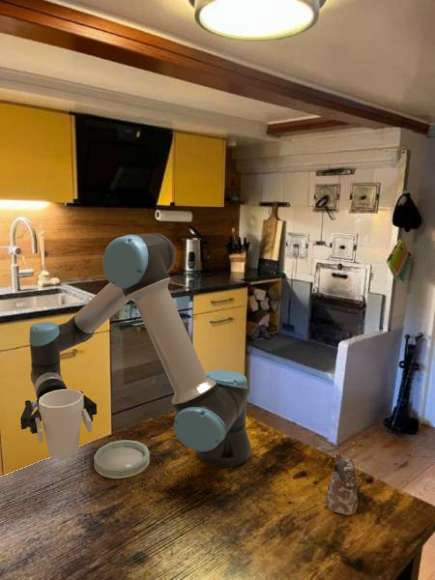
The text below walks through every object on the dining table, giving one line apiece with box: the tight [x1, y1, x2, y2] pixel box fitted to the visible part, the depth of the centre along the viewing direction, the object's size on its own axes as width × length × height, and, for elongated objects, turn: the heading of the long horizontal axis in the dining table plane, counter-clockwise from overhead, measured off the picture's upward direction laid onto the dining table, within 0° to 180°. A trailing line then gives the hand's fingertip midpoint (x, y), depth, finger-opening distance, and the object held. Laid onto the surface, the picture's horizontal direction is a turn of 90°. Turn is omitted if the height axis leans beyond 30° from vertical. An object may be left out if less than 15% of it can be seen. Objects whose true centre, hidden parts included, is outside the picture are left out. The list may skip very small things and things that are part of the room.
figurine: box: [325, 452, 359, 516], centre depth 100 cm, size 7×7×12 cm
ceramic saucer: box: [93, 439, 151, 480], centre depth 114 cm, size 14×14×2 cm
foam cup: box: [39, 388, 84, 460], centre depth 98 cm, size 10×9×13 cm
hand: (65, 431), depth 94 cm, fingers closed on foam cup, 9 cm apart
